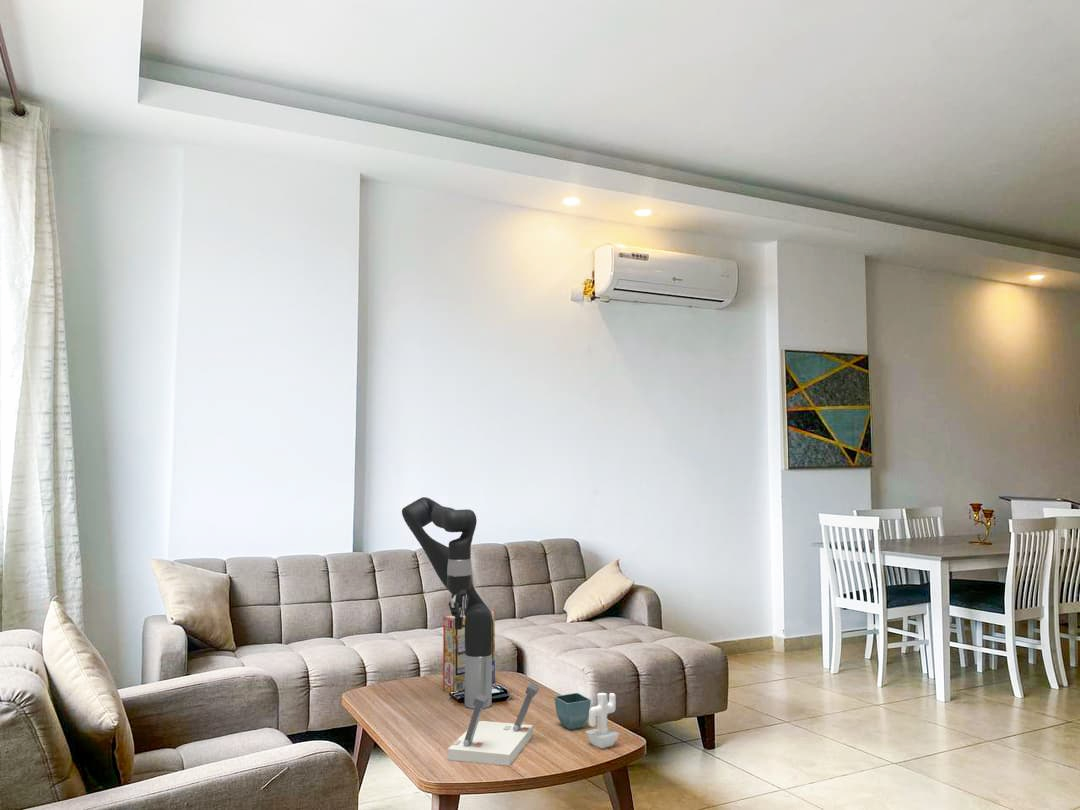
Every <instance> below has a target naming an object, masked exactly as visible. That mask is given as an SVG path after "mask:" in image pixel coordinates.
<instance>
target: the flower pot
mask: <svg viewBox="0 0 1080 810" xmlns="http://www.w3.org/2000/svg"><path fill="white" fill-rule="evenodd" d="M553 697H554V704H555V705H554V706H555V712H556V715H557V718H558V721H559V722H560V724H561V726H562V727H564V728H566V729H567V730H575V729H580V728H584V727H585V725H586V724H587V722H588V721H589V710H590V708H591V704H592V703H591V702H592V699H590V698H589V697H586V696H584V695H582V694H581V693H579V692H573V693H569V694H568V693H567V694H561V695H556V696H553Z"/></svg>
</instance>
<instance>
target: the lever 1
mask: <svg viewBox="0 0 1080 810" xmlns="http://www.w3.org/2000/svg"><path fill="white" fill-rule="evenodd" d="M488 699H489V697H486V696H484V695H482V694H479V695H478V696H477V697H476V698H475V700H474V703H473V705H475V709H474V708H473V713H472V716H471V719H470V721H469V724H468V728H467V730H468V731H467V730H466V731H467V734H466V737H465V740H464V742H463V744H464V746H468V745H470V743H471V742H472V741H473V737H474V734H475V731H476V728H477V725H478V722H479V721H480V718H481V715H482V711H483V709H484V708H483V707H484V706H485V705H486V704H487V702H488Z"/></svg>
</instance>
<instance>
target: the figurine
mask: <svg viewBox="0 0 1080 810" xmlns="http://www.w3.org/2000/svg"><path fill="white" fill-rule="evenodd" d="M596 696H597V697H596V698H597V699H596V700H597V705H596V706H592V707H591V706H590V710H589V717H588V725H589V726H590V727H596V723H597V728H594V729H590V730H589V729H588V730H586V731H584V732H585V734H586V736H587V737H588V739H589V741H590V743H591V745H593V746H594V747H597V748H600V749H605V748H610V747H612V746H614V744H615V742H616V741H617V739H618V737H619V735H620V732H617V731H615V730H612V729H610V728H608V714H612V713H615V711H616V707H617V702H616V701H617V698H616V697H617V695H616V694H615V693H614V692H610V693H609V694H607V693H606V692H599V693H597V695H596ZM596 720H597V722H596Z"/></svg>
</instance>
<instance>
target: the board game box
mask: <svg viewBox="0 0 1080 810" xmlns="http://www.w3.org/2000/svg"><path fill="white" fill-rule="evenodd" d="M489 610H490V612H491V614H492V685H493V684H496V650H495V649H496V639H495V638H496V633H495V632H496V630H495V627H496V624H495V622H496V621H495V619H496V618H495V617H496V615H495V613H496V611H495V610H492V609H489ZM442 623H443V626H442V627H443V628H442V629H443V631H442V634H443V635H442V636H443V637H442V639H443V641H442V642H443V644H442V645H443V647H442V651H443V654H442V655H443V657H442V660H443V662H442V663H443V664H442V670H443V671H442V672H443V673H442V676H443V677H442V678H443V679H442V682H443V683H442V685H443V688H442V691H443V692H445V693H448V694H451V692H456V691H461V690H465V615H464V616H463V628H462V629H460V630H459V629H455V617H454V616H452V614H450V615H446V616H443V620H442Z"/></svg>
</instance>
